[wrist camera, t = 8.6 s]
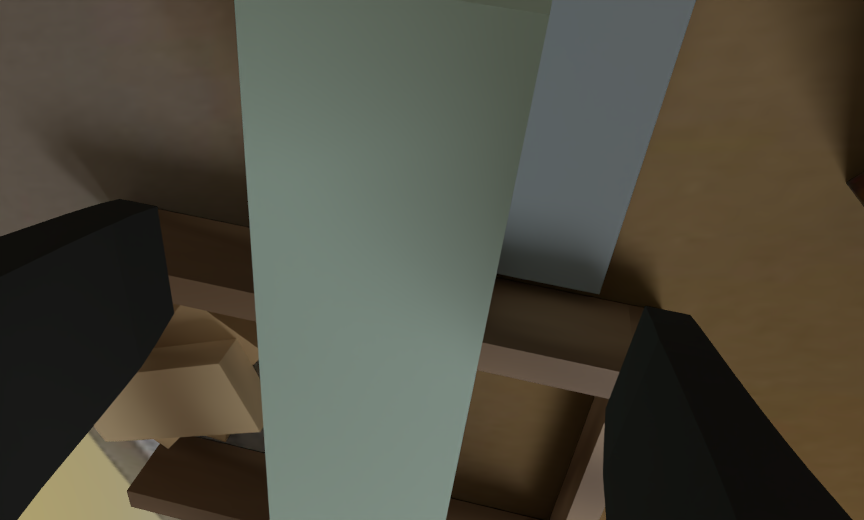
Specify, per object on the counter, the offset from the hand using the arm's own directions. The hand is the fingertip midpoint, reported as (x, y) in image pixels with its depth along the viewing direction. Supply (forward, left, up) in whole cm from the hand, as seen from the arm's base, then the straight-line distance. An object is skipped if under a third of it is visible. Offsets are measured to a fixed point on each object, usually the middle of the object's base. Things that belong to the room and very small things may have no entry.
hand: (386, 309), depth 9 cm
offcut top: (-11, +9, -7) cm, 15 cm away
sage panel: (0, 0, -8) cm, 8 cm away
